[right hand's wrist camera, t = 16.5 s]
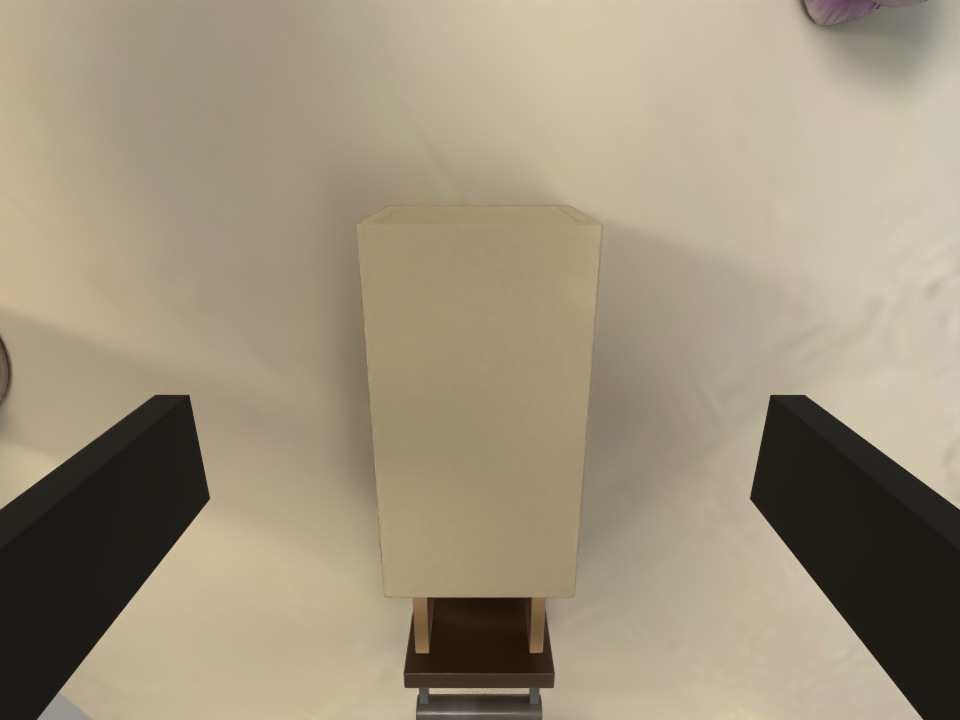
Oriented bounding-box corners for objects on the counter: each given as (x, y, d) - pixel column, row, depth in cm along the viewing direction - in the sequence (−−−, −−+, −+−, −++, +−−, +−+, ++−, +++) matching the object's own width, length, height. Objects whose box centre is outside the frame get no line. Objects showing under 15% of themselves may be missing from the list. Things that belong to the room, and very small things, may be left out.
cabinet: (554, 503, 38) (574, 598, 30) (404, 503, 38) (384, 598, 30) (571, 205, 31) (603, 224, 23) (388, 205, 31) (355, 224, 23)
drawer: (539, 659, 41) (550, 750, 35) (419, 659, 41) (408, 750, 35) (554, 362, 33) (572, 410, 27) (404, 361, 33) (386, 410, 27)
